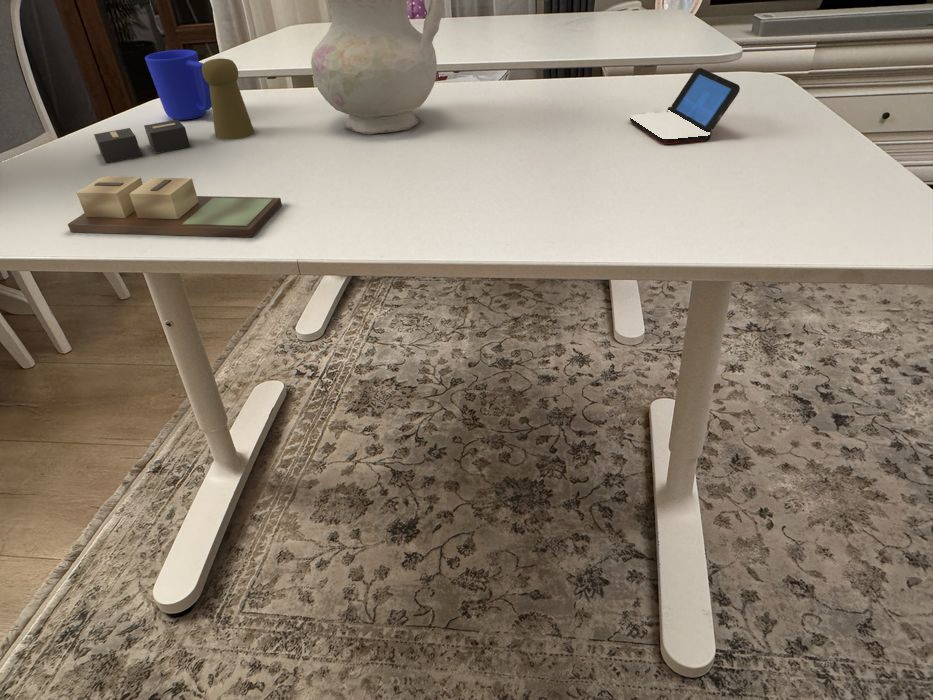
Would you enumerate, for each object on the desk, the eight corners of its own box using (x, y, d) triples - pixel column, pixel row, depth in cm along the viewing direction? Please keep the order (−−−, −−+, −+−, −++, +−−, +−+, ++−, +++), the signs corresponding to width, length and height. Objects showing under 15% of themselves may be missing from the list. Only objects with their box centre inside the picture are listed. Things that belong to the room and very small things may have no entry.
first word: (101, 154, 97) (93, 133, 95) (183, 138, 102) (177, 118, 100) (105, 163, 93) (97, 141, 91) (190, 146, 98) (184, 126, 96)
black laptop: (626, 122, 101) (632, 71, 97) (690, 116, 103) (698, 66, 98) (661, 146, 91) (669, 91, 87) (732, 139, 92) (743, 85, 88)
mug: (198, 128, 106) (180, 63, 100) (153, 119, 112) (134, 57, 106) (237, 115, 112) (222, 53, 106) (192, 107, 117) (176, 47, 111)
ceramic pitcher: (464, 116, 111) (460, -55, 98) (440, 142, 94) (431, -59, 82) (344, 115, 114) (325, -51, 101) (301, 140, 98) (272, -53, 85)
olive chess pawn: (239, 140, 100) (221, 64, 94) (207, 137, 102) (187, 63, 95) (261, 129, 105) (246, 56, 98) (231, 126, 106) (213, 54, 100)
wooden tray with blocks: (70, 232, 74) (56, 198, 71) (115, 201, 81) (103, 169, 79) (252, 237, 71) (243, 202, 68) (282, 205, 78) (275, 172, 76)
